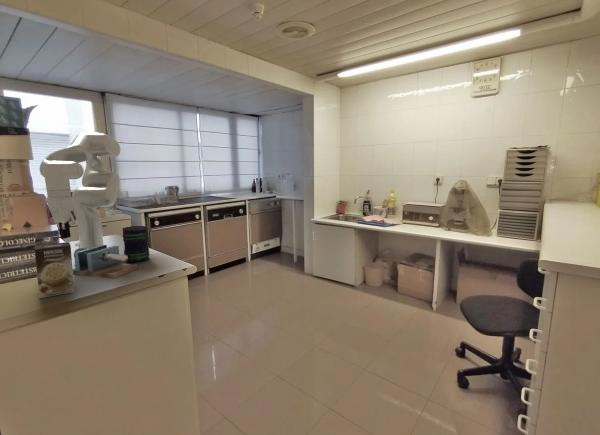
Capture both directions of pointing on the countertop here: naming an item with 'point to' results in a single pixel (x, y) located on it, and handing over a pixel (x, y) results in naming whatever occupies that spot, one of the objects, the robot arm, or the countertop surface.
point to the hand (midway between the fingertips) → (65, 237)
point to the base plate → (109, 270)
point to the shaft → (109, 256)
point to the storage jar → (136, 244)
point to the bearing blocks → (94, 258)
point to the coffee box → (54, 269)
